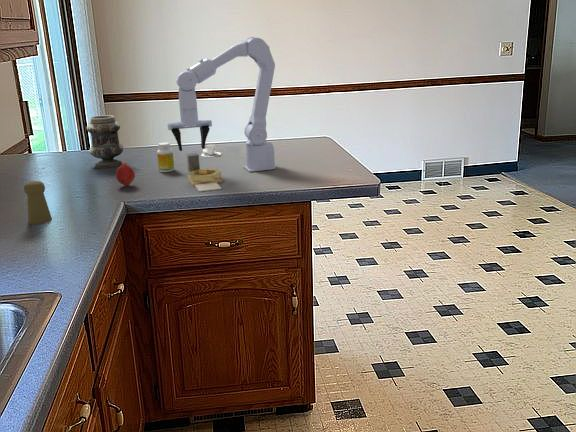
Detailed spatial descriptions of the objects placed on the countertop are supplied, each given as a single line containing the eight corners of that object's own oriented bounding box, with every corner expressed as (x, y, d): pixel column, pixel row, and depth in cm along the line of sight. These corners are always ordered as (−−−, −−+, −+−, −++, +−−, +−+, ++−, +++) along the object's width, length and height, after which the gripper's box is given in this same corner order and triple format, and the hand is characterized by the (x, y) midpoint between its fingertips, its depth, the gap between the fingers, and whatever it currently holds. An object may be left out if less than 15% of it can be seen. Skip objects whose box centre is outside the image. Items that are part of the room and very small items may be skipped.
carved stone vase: (123, 159, 230) (118, 112, 224) (126, 166, 219) (120, 117, 213) (91, 162, 226) (84, 115, 221) (91, 170, 216) (84, 120, 210)
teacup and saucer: (201, 153, 238) (200, 143, 236) (221, 152, 238) (220, 142, 237) (200, 158, 229) (199, 147, 228) (221, 157, 230) (220, 146, 229)
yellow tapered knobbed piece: (32, 218, 165) (25, 179, 162) (54, 216, 166) (48, 178, 162) (25, 225, 160) (17, 185, 156) (48, 223, 160) (41, 184, 156)
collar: (216, 172, 203) (216, 167, 202) (223, 179, 194) (222, 174, 193) (187, 175, 200) (186, 170, 199) (192, 183, 191) (192, 177, 190)
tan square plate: (216, 174, 203) (216, 172, 203) (223, 181, 194) (223, 179, 194) (187, 178, 200) (187, 175, 200) (192, 185, 191) (192, 183, 191)
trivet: (216, 183, 193) (216, 182, 192) (221, 189, 186) (221, 187, 186) (195, 186, 190) (194, 184, 190) (199, 191, 184) (199, 190, 184)
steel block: (198, 172, 207) (196, 153, 205) (200, 175, 204) (198, 155, 201) (188, 173, 206) (186, 154, 203) (190, 176, 203) (188, 156, 200)
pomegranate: (119, 189, 190) (116, 165, 187) (115, 185, 195) (112, 161, 192) (137, 186, 192) (134, 162, 190) (133, 182, 197) (130, 159, 194)
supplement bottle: (170, 172, 208) (168, 145, 205) (156, 172, 209) (153, 145, 206) (176, 168, 213) (174, 141, 210) (162, 168, 214) (159, 141, 211)
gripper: (207, 105, 203) (210, 144, 208) (164, 109, 199) (168, 149, 203) (212, 108, 197) (214, 148, 201) (167, 111, 193) (171, 153, 197)
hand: (191, 149), depth 202 cm, fingers open, 7 cm apart
